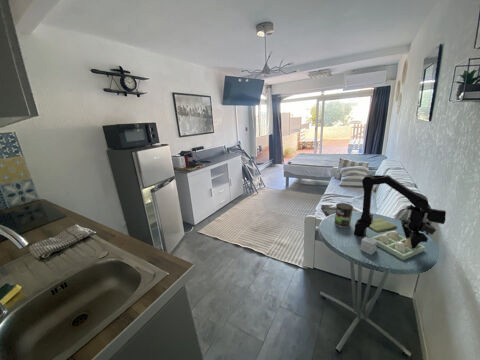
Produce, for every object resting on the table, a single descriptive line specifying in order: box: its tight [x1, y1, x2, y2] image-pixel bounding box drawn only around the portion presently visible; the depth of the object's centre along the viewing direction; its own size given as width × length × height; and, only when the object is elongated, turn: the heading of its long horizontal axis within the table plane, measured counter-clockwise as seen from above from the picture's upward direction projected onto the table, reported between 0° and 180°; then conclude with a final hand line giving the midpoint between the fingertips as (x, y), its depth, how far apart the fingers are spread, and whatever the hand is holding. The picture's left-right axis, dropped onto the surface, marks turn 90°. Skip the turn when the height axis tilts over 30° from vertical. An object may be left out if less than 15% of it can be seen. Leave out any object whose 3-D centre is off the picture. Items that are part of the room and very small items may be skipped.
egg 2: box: [389, 230, 400, 242], centre depth 118 cm, size 4×4×6 cm
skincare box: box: [359, 235, 378, 255], centre depth 111 cm, size 6×6×7 cm
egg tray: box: [371, 230, 426, 261], centre depth 114 cm, size 18×18×3 cm
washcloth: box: [368, 217, 398, 233], centre depth 135 cm, size 13×18×3 cm
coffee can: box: [334, 202, 354, 229], centre depth 139 cm, size 10×10×14 cm
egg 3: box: [395, 242, 406, 254], centre depth 108 cm, size 4×4×6 cm
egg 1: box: [379, 233, 389, 245], centre depth 115 cm, size 4×4×6 cm
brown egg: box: [405, 237, 414, 250], centre depth 111 cm, size 4×4×6 cm
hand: (410, 243), depth 111 cm, fingers open, 9 cm apart
